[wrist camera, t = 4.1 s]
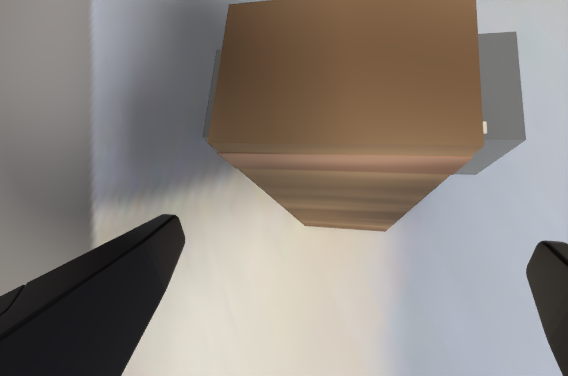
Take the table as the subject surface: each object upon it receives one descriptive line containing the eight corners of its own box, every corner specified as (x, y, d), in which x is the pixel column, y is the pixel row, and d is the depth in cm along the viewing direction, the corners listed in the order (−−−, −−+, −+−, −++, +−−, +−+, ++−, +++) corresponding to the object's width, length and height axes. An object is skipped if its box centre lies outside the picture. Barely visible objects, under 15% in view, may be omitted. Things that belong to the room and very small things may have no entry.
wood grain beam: (385, 231, 17) (485, 147, 5) (304, 226, 18) (206, 143, 6) (386, 178, 18) (476, -20, 5) (308, 176, 19) (228, 3, 6)
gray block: (475, 174, 17) (527, 138, 12) (237, 167, 20) (201, 136, 15) (471, 93, 18) (517, 30, 13) (246, 98, 21) (215, 48, 16)
